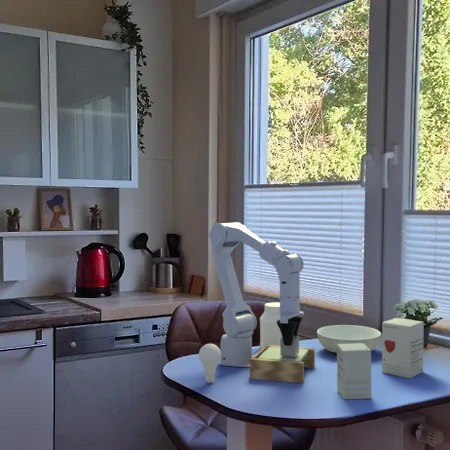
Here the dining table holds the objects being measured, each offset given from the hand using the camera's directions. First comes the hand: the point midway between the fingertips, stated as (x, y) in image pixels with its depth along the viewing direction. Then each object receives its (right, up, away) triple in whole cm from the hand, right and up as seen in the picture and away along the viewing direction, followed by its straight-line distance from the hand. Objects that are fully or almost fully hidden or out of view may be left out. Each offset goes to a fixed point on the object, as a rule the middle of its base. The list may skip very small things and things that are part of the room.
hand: (290, 343), depth 169 cm
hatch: (-2, -5, +3) cm, 6 cm away
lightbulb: (-23, -10, -6) cm, 26 cm away
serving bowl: (+22, -8, +26) cm, 35 cm away
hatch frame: (-1, -9, +3) cm, 10 cm away
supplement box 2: (+33, -9, +2) cm, 34 cm away
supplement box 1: (+15, -10, -17) cm, 25 cm away
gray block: (0, -3, 0) cm, 3 cm away
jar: (-1, -8, +32) cm, 33 cm away
